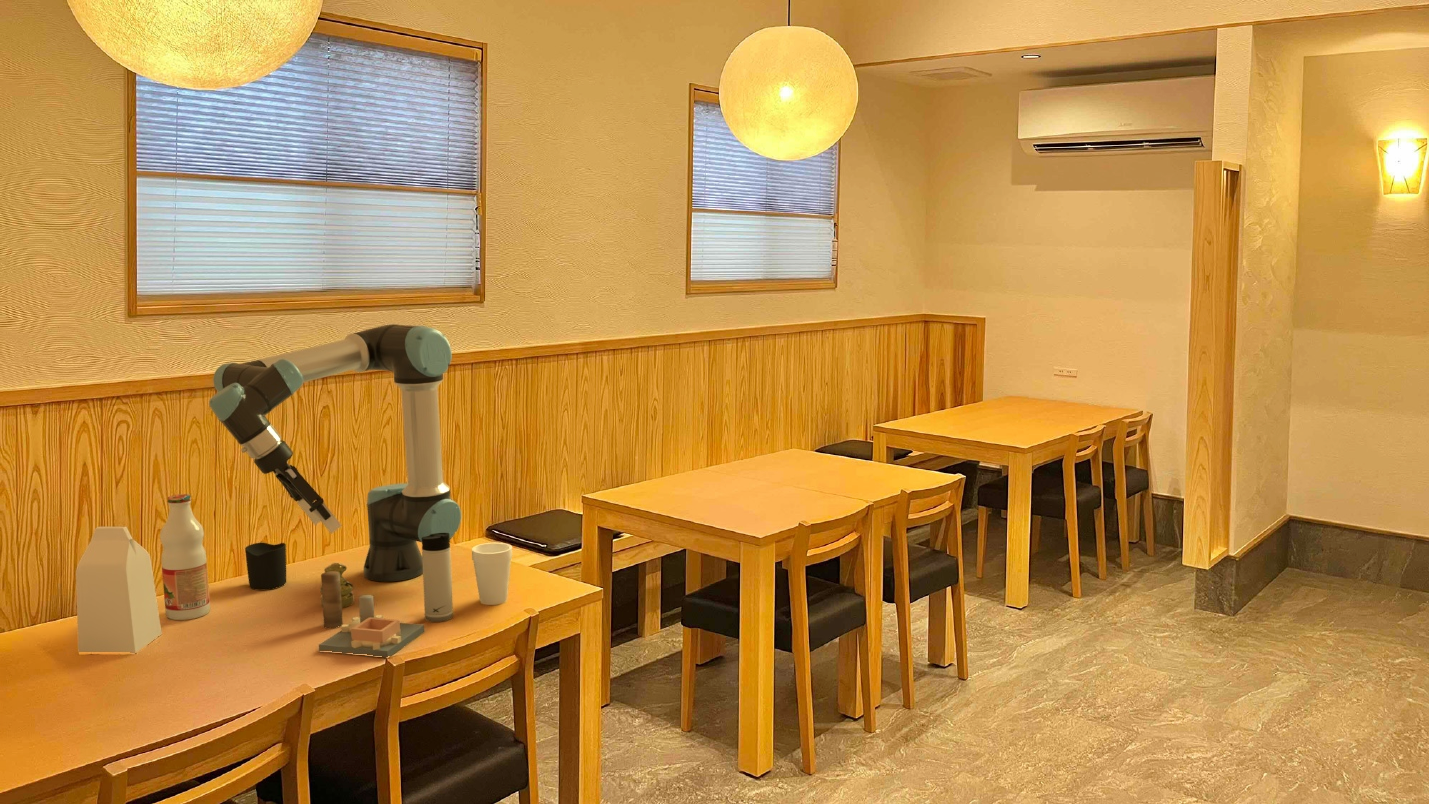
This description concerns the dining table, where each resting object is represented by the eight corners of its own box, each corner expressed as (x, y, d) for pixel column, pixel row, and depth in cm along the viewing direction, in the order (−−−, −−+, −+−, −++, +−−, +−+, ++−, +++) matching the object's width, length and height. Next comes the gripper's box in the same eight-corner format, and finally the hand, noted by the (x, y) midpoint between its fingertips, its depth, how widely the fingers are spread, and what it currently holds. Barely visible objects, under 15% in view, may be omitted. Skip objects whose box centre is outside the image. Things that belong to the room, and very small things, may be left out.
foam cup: (518, 595, 276) (516, 543, 274) (507, 607, 267) (506, 554, 265) (480, 593, 277) (478, 542, 275) (468, 606, 268) (466, 553, 266)
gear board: (360, 625, 256) (358, 587, 254) (425, 631, 252) (423, 593, 251) (319, 652, 240) (316, 612, 239) (387, 658, 236) (385, 618, 235)
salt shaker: (359, 604, 270) (357, 563, 268) (330, 612, 265) (328, 570, 263) (344, 597, 275) (341, 557, 273) (315, 604, 270) (312, 564, 268)
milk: (78, 654, 239) (67, 534, 235) (107, 635, 250) (96, 520, 246) (135, 654, 239) (125, 534, 235) (161, 635, 250) (152, 520, 246)
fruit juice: (199, 621, 259) (190, 501, 254) (158, 621, 259) (148, 501, 254) (217, 607, 268) (208, 491, 264) (177, 607, 268) (168, 491, 264)
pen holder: (278, 577, 291) (275, 539, 289) (294, 585, 284) (292, 546, 283) (241, 585, 284) (238, 546, 283) (257, 593, 278) (254, 554, 276)
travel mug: (440, 624, 256) (436, 538, 253) (419, 619, 260) (415, 534, 256) (459, 616, 261) (456, 532, 258) (439, 611, 265) (435, 528, 262)
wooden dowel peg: (330, 621, 258) (327, 570, 256) (346, 623, 257) (343, 572, 255) (320, 627, 254) (317, 576, 252) (336, 629, 253) (333, 577, 251)
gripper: (240, 455, 251) (300, 528, 259) (265, 465, 230) (328, 544, 238) (269, 434, 254) (327, 507, 262) (296, 443, 233) (358, 521, 241)
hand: (328, 525), depth 250 cm, fingers open, 13 cm apart
